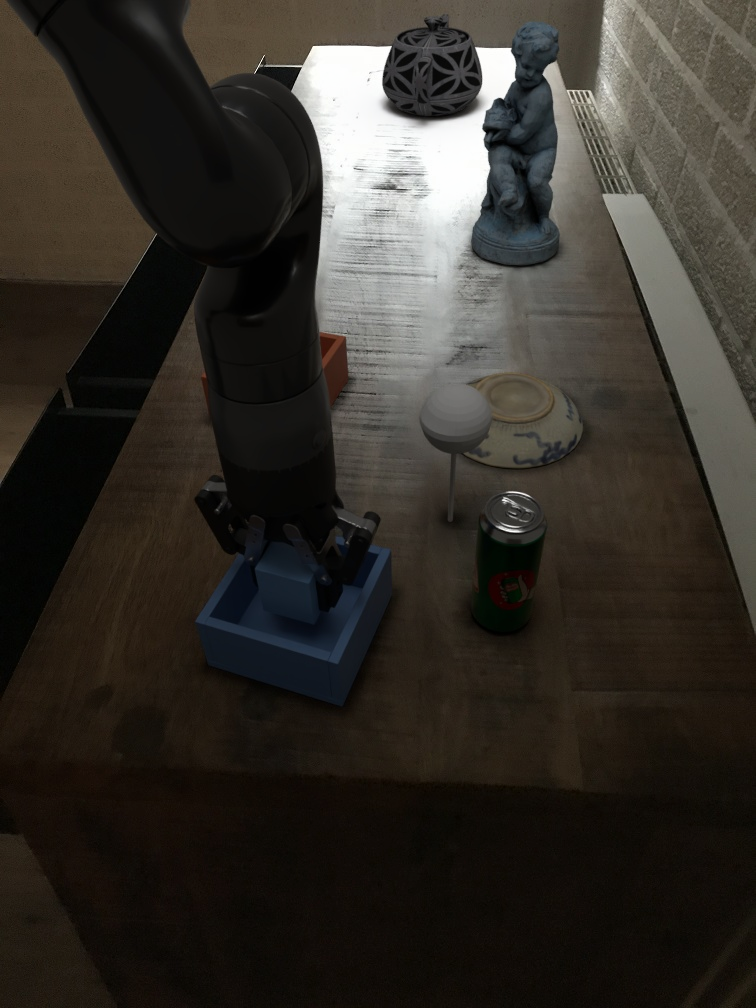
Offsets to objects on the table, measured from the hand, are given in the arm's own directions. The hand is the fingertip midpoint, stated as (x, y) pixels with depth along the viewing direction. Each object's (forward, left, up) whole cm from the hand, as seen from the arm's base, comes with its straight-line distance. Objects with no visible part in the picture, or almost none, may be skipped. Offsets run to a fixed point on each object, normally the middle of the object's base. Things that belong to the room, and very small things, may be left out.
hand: (298, 594), depth 63 cm
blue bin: (0, 0, -4) cm, 4 cm away
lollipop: (+8, +16, -5) cm, 18 cm away
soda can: (+15, +7, -5) cm, 17 cm away
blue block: (0, 0, 0) cm, 0 cm away
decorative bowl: (+10, +32, -5) cm, 34 cm away
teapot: (-27, +124, -5) cm, 127 cm away
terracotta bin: (-15, +28, -4) cm, 32 cm away
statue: (+1, +72, -5) cm, 72 cm away
